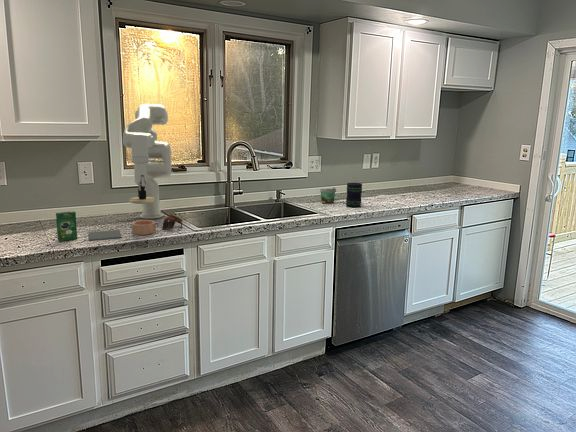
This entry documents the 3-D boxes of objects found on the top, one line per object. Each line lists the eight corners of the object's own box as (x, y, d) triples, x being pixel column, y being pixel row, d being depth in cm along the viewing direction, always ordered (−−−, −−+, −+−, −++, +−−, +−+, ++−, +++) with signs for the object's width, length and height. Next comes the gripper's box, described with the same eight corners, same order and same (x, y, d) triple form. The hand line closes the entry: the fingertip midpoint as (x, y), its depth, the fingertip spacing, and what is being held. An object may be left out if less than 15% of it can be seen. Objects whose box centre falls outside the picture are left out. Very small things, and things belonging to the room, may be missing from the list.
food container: (325, 205, 301) (326, 190, 299) (319, 203, 306) (320, 188, 304) (339, 203, 308) (340, 188, 306) (333, 201, 313) (334, 187, 311)
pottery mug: (161, 227, 238) (168, 213, 239) (178, 235, 240) (184, 220, 241) (159, 227, 227) (167, 212, 228) (177, 235, 228) (184, 220, 229)
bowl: (131, 230, 229) (130, 220, 228) (154, 228, 233) (153, 219, 232) (133, 236, 219) (133, 226, 218) (157, 234, 223) (156, 224, 222)
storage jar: (343, 205, 301) (344, 183, 298) (355, 204, 305) (357, 182, 302) (350, 208, 292) (352, 185, 289) (364, 207, 296) (365, 184, 293)
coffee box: (75, 237, 215) (73, 210, 212) (78, 238, 213) (75, 211, 210) (57, 240, 209) (54, 212, 206) (59, 242, 207) (57, 213, 204)
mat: (88, 233, 222) (88, 232, 222) (119, 230, 228) (119, 229, 228) (89, 240, 210) (89, 239, 210) (121, 238, 215) (121, 236, 215)
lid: (128, 199, 225) (127, 189, 224) (153, 198, 230) (152, 188, 229) (130, 204, 215) (130, 193, 213) (157, 202, 219) (156, 192, 218)
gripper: (130, 158, 224) (132, 195, 228) (133, 162, 209) (136, 201, 213) (146, 158, 227) (148, 194, 231) (150, 161, 212) (152, 200, 216)
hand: (142, 197), depth 222 cm, fingers closed on lid, 3 cm apart
